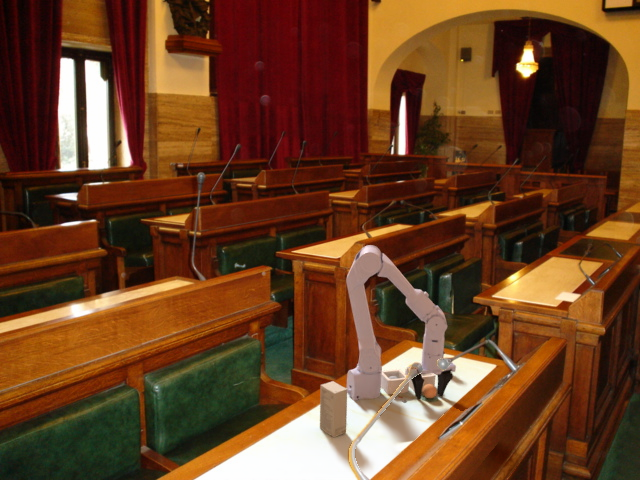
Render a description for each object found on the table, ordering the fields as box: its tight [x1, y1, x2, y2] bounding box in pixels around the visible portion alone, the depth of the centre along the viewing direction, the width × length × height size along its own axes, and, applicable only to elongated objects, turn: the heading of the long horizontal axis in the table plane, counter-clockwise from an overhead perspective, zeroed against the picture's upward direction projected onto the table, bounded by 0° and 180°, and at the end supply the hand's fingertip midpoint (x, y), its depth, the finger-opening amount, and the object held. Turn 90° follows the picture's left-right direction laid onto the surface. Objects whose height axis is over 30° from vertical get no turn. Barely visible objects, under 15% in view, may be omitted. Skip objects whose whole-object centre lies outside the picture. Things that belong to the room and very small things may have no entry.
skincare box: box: [319, 380, 348, 438], centre depth 161 cm, size 6×4×12 cm
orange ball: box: [422, 384, 437, 398], centre depth 179 cm, size 4×4×4 cm
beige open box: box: [404, 368, 436, 392], centre depth 186 cm, size 7×7×4 cm
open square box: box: [381, 368, 410, 395], centre depth 184 cm, size 7×7×4 cm
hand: (429, 396), depth 179 cm, fingers open, 6 cm apart
